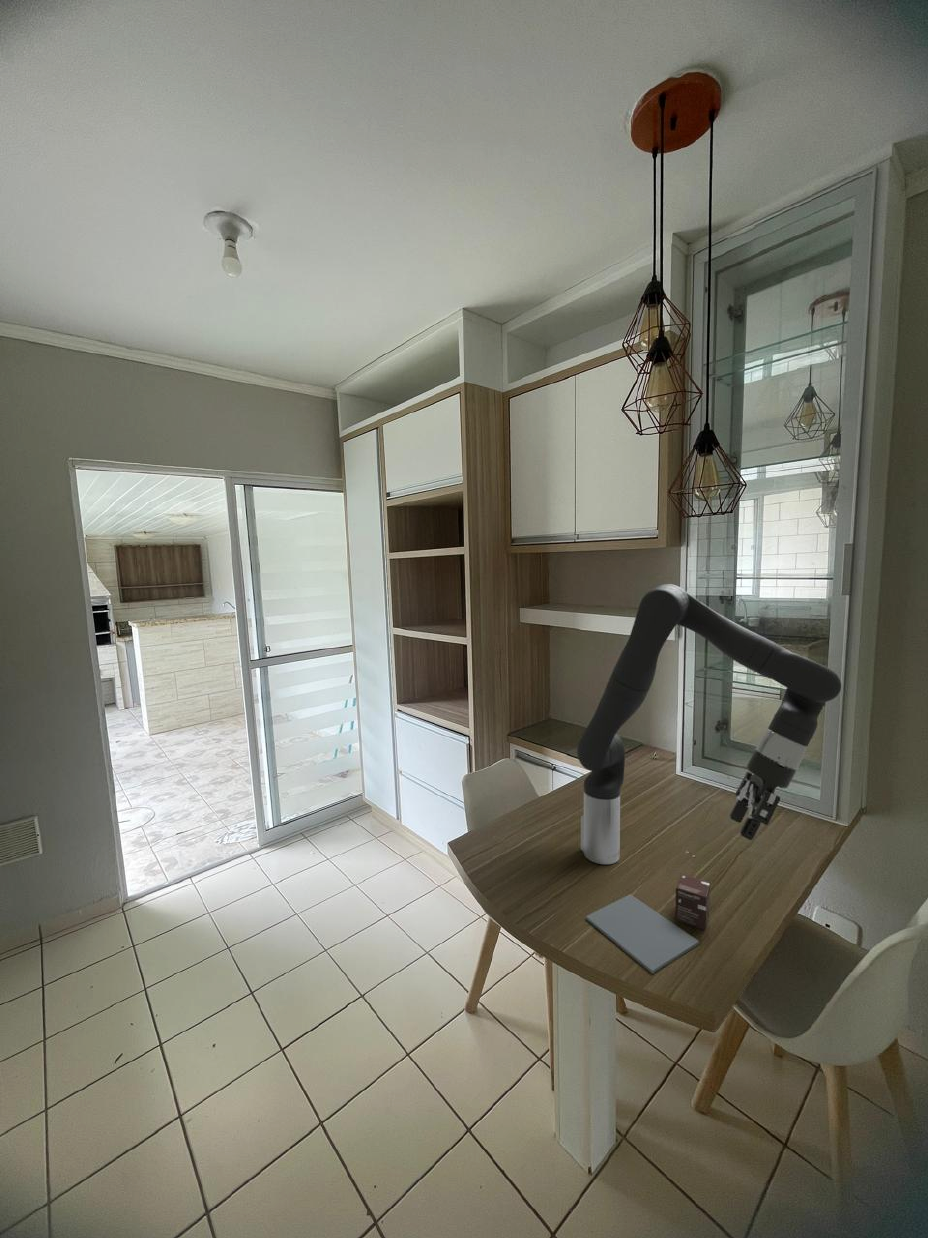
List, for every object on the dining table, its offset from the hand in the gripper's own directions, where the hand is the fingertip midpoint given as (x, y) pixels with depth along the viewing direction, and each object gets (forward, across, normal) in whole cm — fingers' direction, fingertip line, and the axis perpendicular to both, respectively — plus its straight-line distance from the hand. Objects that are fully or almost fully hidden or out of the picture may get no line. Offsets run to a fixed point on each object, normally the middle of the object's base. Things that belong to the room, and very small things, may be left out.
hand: (739, 828), depth 97 cm
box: (+24, -5, +2) cm, 24 cm away
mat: (+28, +3, -8) cm, 30 cm away
